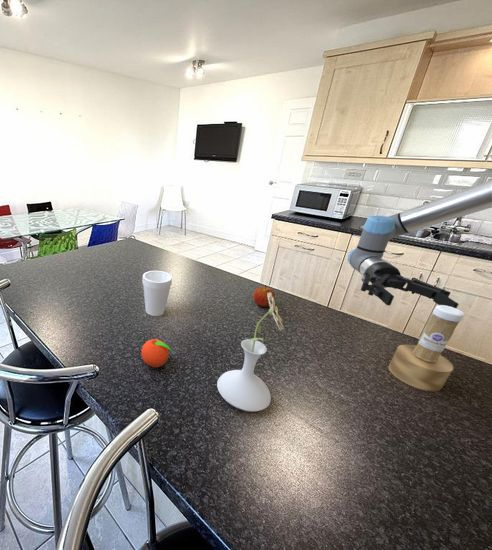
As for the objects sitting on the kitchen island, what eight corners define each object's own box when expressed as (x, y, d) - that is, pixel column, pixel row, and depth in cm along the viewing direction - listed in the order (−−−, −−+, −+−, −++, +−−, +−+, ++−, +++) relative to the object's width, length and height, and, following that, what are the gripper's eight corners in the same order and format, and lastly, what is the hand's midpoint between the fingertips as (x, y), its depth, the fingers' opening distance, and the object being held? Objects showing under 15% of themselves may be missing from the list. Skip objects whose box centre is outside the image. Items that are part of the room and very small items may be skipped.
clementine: (174, 359, 78) (176, 337, 75) (168, 377, 72) (170, 354, 69) (145, 352, 80) (146, 330, 77) (137, 369, 74) (138, 346, 71)
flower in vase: (259, 426, 60) (289, 322, 49) (207, 397, 66) (224, 299, 56) (277, 389, 69) (306, 295, 58) (230, 367, 75) (249, 279, 65)
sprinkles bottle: (415, 359, 70) (440, 311, 65) (409, 349, 74) (433, 302, 68) (440, 366, 68) (469, 316, 63) (433, 354, 72) (459, 307, 66)
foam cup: (174, 315, 98) (177, 279, 93) (149, 321, 94) (152, 284, 89) (159, 302, 106) (161, 268, 100) (136, 307, 102) (137, 273, 97)
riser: (425, 366, 77) (435, 348, 74) (452, 395, 68) (465, 375, 66) (380, 359, 79) (389, 341, 77) (401, 386, 70) (412, 366, 68)
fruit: (276, 307, 103) (282, 287, 100) (263, 312, 101) (268, 291, 97) (260, 299, 109) (264, 279, 106) (247, 303, 106) (251, 283, 103)
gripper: (421, 288, 92) (475, 324, 73) (331, 278, 98) (360, 310, 79) (431, 266, 89) (490, 298, 70) (338, 257, 95) (370, 285, 76)
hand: (421, 304), depth 75 cm, fingers open, 13 cm apart
